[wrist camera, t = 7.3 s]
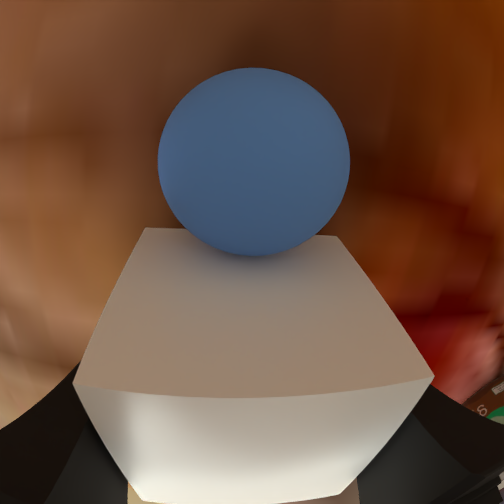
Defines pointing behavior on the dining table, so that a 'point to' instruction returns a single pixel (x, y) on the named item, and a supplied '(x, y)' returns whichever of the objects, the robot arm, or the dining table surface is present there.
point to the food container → (489, 403)
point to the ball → (253, 161)
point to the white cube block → (246, 371)
